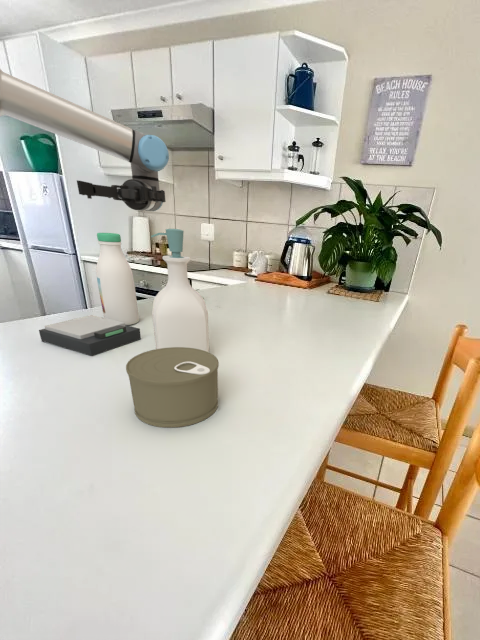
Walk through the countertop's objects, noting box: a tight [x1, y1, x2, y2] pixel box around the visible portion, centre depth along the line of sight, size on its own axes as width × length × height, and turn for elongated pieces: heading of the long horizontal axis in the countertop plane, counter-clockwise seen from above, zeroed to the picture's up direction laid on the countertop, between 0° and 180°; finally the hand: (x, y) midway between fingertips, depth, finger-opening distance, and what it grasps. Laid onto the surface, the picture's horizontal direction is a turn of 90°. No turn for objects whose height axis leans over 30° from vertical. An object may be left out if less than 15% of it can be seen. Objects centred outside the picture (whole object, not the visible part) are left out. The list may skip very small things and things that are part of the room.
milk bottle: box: [95, 232, 140, 326], centre depth 75 cm, size 8×8×20 cm
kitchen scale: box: [38, 314, 142, 357], centre depth 67 cm, size 14×12×3 cm
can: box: [125, 347, 220, 429], centre depth 46 cm, size 12×12×7 cm
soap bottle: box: [150, 228, 210, 353], centre depth 59 cm, size 10×10×23 cm
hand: (111, 190), depth 74 cm, fingers open, 13 cm apart
